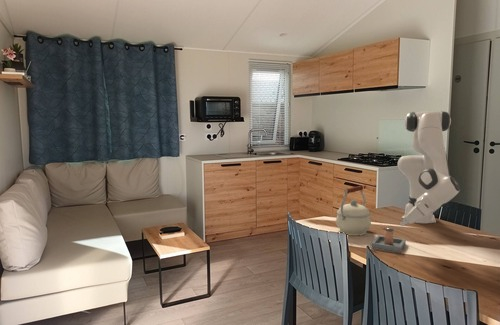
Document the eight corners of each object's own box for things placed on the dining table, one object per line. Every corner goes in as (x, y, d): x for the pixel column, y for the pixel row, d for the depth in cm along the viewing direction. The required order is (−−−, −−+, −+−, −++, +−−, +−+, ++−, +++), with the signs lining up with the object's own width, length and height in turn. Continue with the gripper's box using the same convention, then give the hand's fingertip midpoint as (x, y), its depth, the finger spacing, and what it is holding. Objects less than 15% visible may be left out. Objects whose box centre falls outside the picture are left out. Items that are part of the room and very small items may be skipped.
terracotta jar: (385, 242, 186) (385, 226, 185) (393, 244, 184) (394, 228, 183) (383, 245, 183) (384, 229, 182) (392, 246, 181) (392, 230, 180)
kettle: (356, 240, 192) (357, 192, 189) (327, 232, 206) (327, 187, 203) (381, 230, 208) (383, 185, 205) (353, 223, 222) (354, 181, 219)
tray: (377, 239, 193) (378, 235, 192) (405, 244, 186) (405, 239, 185) (371, 248, 181) (371, 242, 181) (400, 253, 175) (400, 247, 174)
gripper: (424, 194, 182) (402, 211, 188) (417, 203, 165) (393, 222, 171) (434, 204, 180) (411, 221, 187) (428, 215, 163) (403, 233, 170)
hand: (402, 222), depth 179 cm, fingers open, 8 cm apart
